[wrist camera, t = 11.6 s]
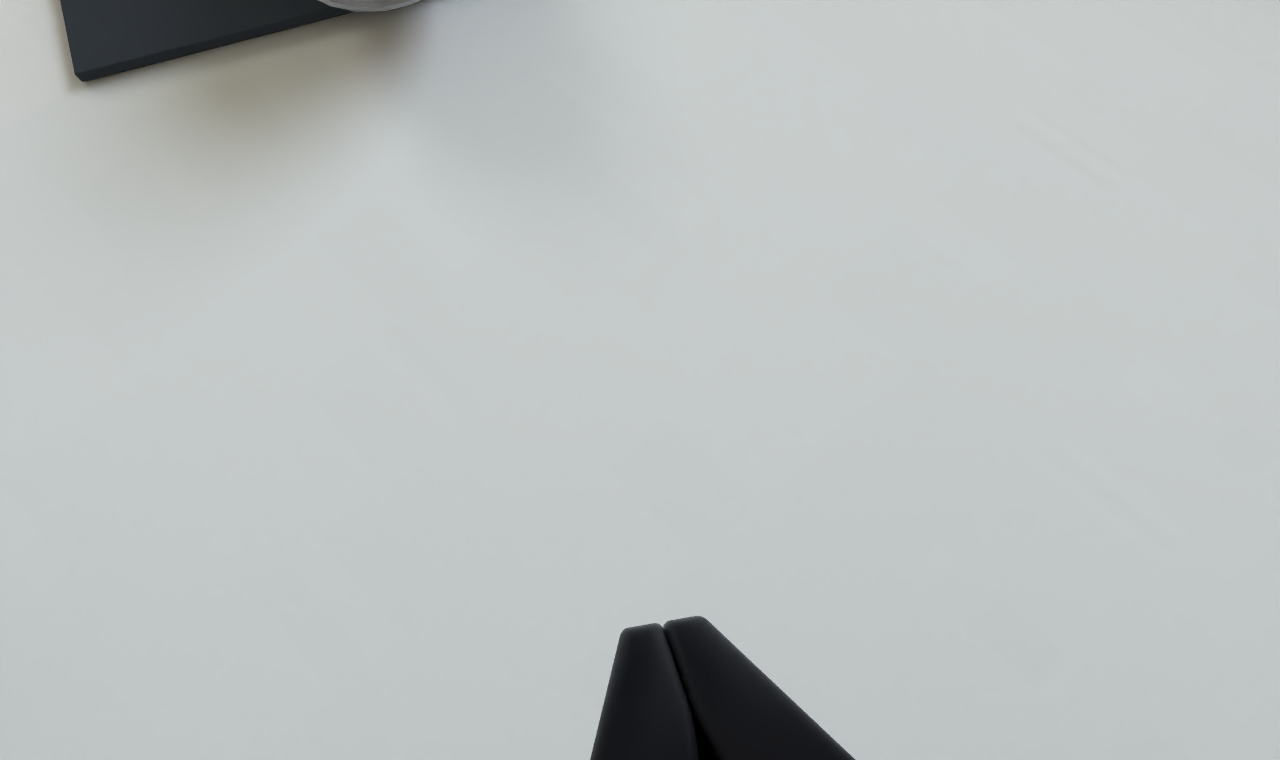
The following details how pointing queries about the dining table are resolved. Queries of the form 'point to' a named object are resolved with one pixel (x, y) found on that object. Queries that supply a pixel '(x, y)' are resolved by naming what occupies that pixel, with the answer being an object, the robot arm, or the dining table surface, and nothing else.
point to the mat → (172, 28)
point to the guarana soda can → (368, 4)
